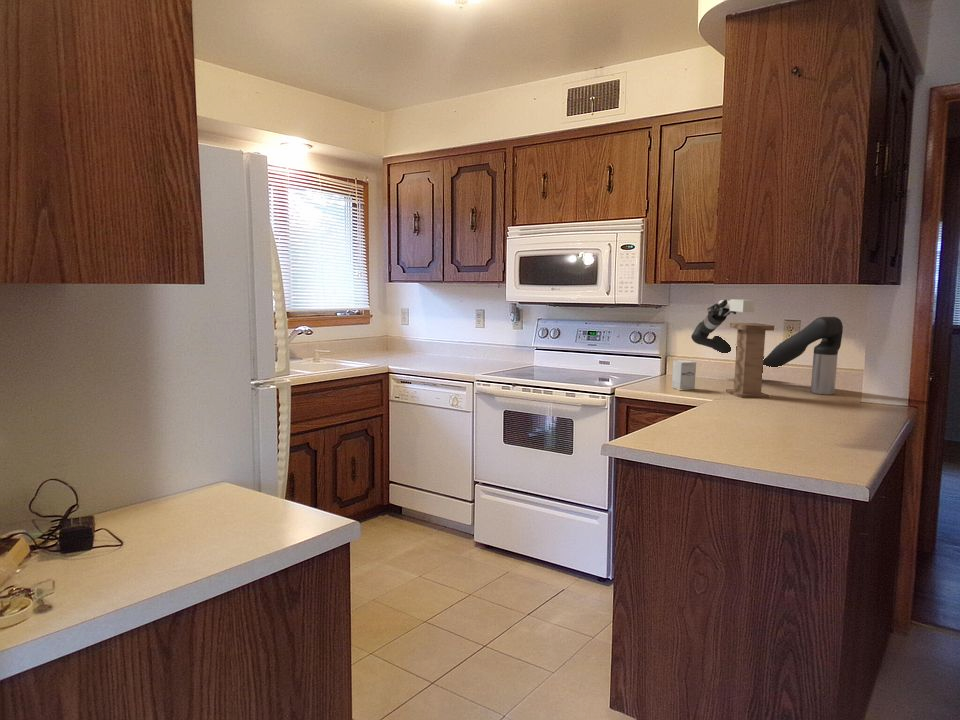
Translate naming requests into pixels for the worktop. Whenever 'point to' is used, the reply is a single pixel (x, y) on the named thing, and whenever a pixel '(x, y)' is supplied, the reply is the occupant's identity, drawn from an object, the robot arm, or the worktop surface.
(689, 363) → the supplement box
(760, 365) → the brown pedestal
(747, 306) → the white square bar
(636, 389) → the worktop surface
